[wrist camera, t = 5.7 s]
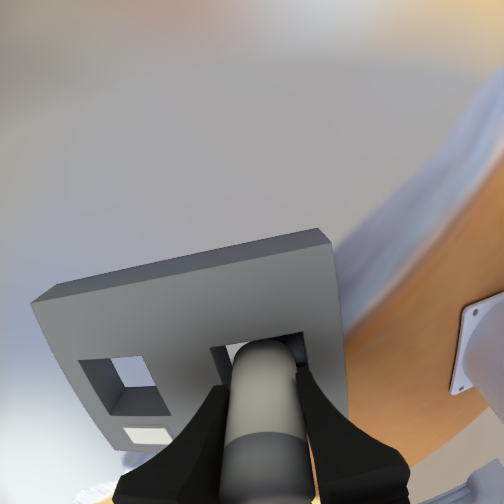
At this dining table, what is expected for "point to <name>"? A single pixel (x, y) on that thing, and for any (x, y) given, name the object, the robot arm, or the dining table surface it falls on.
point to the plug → (265, 430)
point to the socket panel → (192, 330)
